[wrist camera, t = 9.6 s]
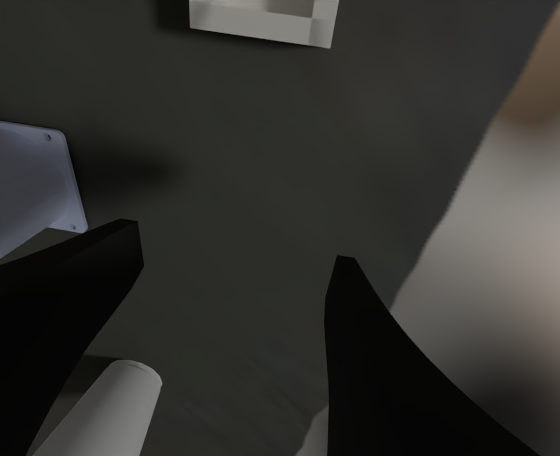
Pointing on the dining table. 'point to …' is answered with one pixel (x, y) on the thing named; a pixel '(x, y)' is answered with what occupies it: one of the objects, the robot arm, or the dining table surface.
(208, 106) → the dining table surface
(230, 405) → the dining table surface
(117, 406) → the foam cup
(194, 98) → the dining table surface
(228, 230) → the dining table surface
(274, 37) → the gray square open box
